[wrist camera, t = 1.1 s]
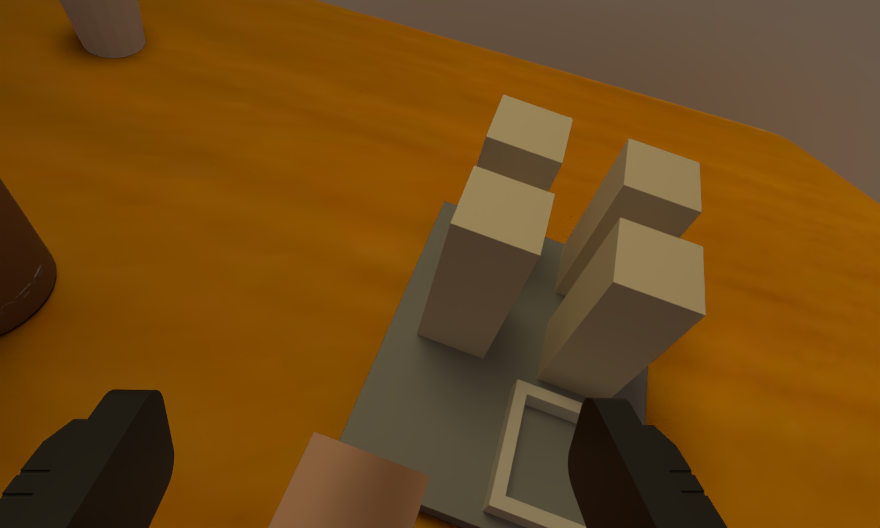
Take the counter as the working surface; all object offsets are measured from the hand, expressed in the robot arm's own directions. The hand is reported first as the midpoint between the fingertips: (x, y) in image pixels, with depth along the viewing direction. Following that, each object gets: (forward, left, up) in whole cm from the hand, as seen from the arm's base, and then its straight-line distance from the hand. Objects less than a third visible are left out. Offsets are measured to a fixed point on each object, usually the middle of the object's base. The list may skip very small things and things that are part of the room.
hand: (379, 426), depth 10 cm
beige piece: (-40, +35, -23) cm, 59 cm away
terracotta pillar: (0, 0, -23) cm, 23 cm away
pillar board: (+7, +16, -23) cm, 29 cm away
